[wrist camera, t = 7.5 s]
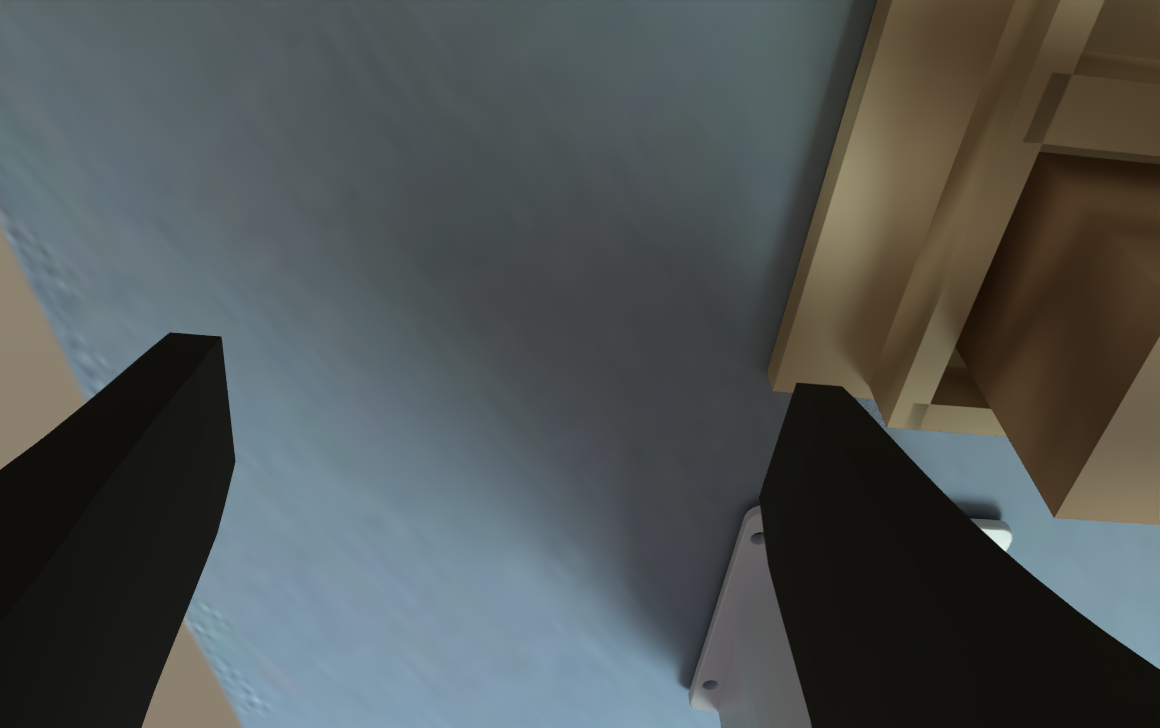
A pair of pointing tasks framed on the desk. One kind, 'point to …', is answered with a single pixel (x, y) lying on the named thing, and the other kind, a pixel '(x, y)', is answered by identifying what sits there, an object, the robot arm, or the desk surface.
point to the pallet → (951, 184)
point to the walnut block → (1077, 336)
